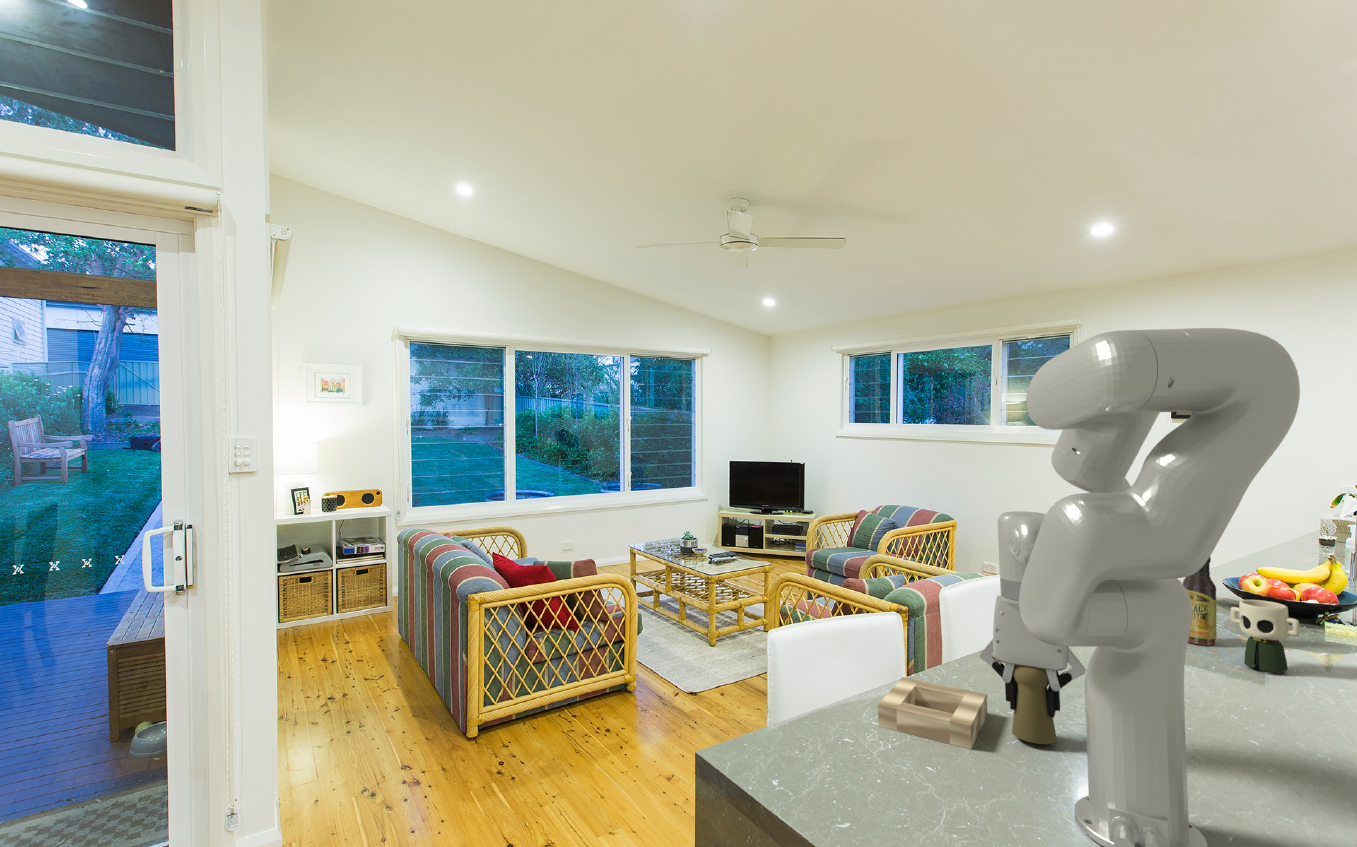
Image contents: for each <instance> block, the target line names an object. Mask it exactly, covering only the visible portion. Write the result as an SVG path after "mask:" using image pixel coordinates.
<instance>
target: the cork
mask: <svg viewBox="0 0 1357 847" xmlns="http://www.w3.org/2000/svg"><path fill="white" fill-rule="evenodd" d="M1013 677H1014V679H1015V681H1016V682H1017V686H1016V709H1015V710H1013V718H1012V728H1011V733H1012V734H1013V736H1015V738H1018V739H1020V740H1023V741H1025V742H1028V743H1033V744H1038V745H1039V744H1040V745H1049V744H1054V743H1056V742H1057V741H1058V740H1057V739H1058V737H1057V733H1056V727H1055V722H1054V718H1053V717H1050V716H1049V714H1048V694H1047V691H1048V687H1049V684H1050V682H1049V679H1048V676H1047V672H1046V670H1045V669H1038V668H1033V667H1027V666H1019V665H1015V666H1014V669H1013Z"/></svg>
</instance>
